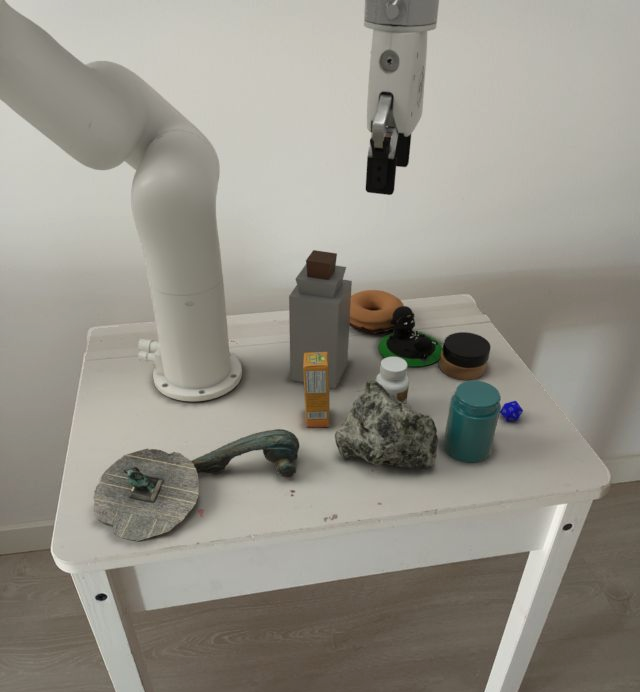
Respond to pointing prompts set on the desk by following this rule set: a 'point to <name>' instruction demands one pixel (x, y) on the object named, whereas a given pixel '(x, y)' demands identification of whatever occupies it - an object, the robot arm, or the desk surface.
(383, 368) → the pill bottle
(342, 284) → the perfume bottle
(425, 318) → the desk surface
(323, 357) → the supplement box
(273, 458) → the decorative handle
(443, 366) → the brown round disc
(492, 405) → the jar
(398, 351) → the toy figurine
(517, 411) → the die
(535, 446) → the desk surface
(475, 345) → the lid
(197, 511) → the desk surface
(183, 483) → the sculpture
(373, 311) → the donut
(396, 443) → the rock
